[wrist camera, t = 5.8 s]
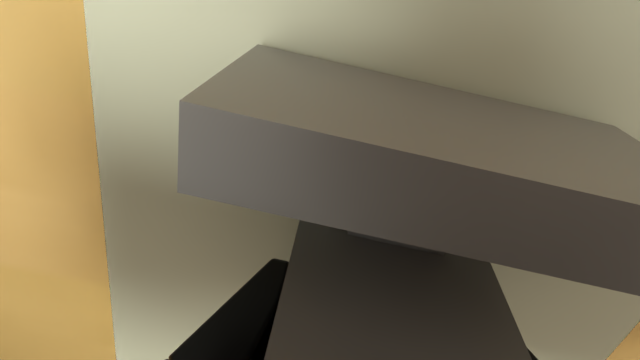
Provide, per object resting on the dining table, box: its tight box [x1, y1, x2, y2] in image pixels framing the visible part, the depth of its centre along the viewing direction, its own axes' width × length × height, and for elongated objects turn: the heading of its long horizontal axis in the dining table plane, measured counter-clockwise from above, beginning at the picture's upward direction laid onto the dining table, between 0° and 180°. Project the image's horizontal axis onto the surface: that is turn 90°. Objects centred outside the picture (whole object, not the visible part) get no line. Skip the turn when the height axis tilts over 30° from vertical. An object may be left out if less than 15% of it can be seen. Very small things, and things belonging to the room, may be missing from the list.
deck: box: [83, 0, 640, 360], centre depth 10 cm, size 21×14×2 cm, turn 169°
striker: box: [177, 44, 640, 360], centre depth 7 cm, size 7×7×6 cm
